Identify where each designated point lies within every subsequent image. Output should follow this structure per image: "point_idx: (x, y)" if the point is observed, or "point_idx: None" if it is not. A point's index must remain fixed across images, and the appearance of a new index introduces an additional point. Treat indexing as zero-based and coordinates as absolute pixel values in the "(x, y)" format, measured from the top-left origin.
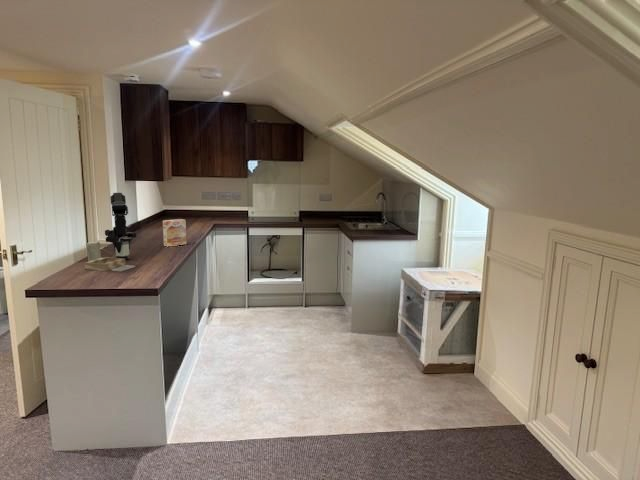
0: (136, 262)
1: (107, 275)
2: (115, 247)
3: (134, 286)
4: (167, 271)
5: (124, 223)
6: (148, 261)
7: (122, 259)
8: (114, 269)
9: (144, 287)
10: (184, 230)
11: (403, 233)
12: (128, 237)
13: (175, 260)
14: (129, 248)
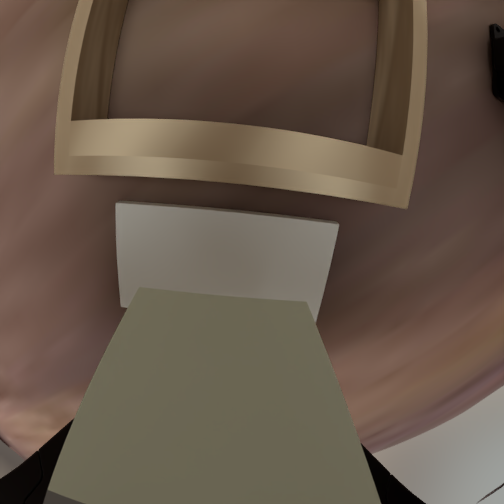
0: (461, 231)
1: (12, 269)
2: (76, 421)
3: (10, 435)
4: None
5: None
6: (474, 298)
7: (365, 200)
8: (131, 225)
9: (25, 455)
10: None
11: (500, 487)
12: None
13: (456, 404)
14: None
